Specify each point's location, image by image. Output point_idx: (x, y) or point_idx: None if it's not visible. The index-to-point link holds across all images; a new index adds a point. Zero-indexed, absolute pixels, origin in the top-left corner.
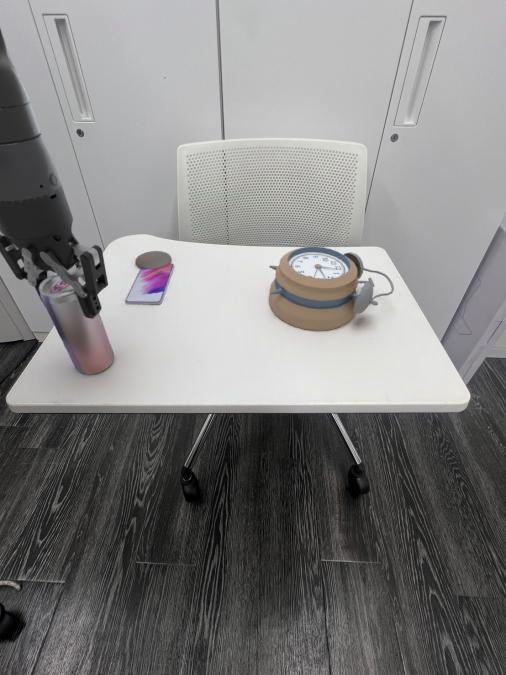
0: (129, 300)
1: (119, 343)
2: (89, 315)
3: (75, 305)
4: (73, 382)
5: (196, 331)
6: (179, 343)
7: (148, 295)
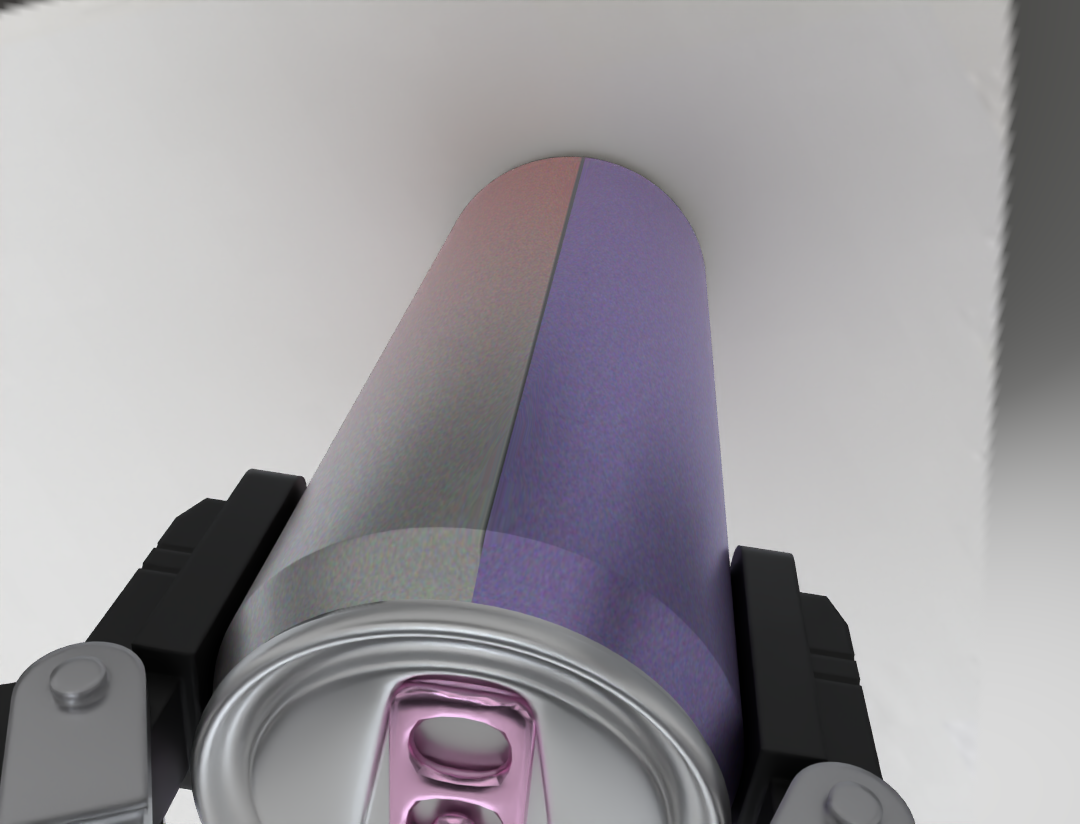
0: None
1: None
2: (236, 489)
3: (273, 555)
4: (628, 74)
5: None
6: (161, 492)
7: None
